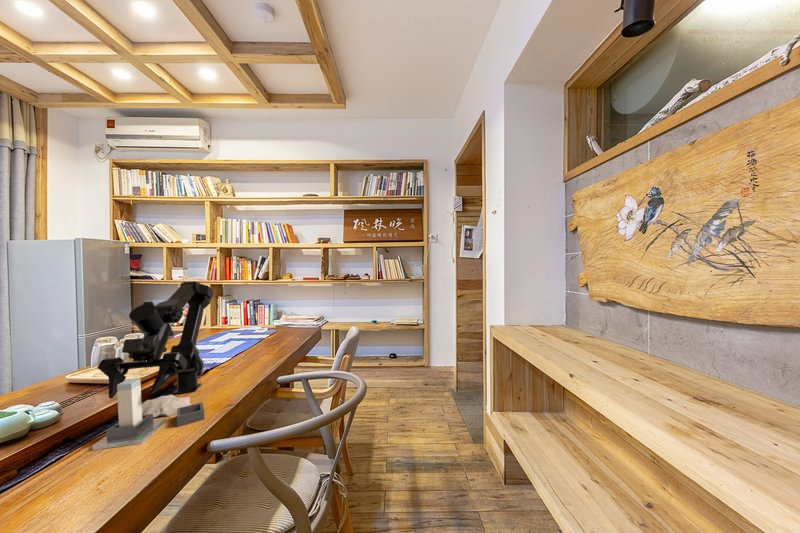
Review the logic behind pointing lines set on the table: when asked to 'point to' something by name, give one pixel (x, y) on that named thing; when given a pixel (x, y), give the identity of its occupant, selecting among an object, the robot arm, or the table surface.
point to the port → (129, 433)
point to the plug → (129, 402)
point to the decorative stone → (164, 405)
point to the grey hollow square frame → (190, 414)
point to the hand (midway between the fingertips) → (131, 395)
